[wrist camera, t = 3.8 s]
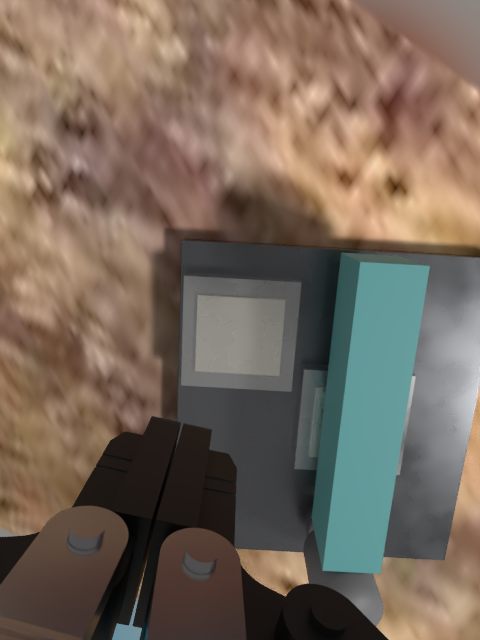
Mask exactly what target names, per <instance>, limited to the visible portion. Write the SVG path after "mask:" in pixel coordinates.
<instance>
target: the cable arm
mask: <svg viewBox="0 0 480 640" xmlns="http://www.w3.org/2000/svg"><path fill="white" fill-rule="evenodd" d="M429 269H430V266H428V265H425V264H422V263H419V262H416V261H413V260H410V259H407V258H404V257H401V256H390V255H373V254H356V253H341V259H340V268H339V277H338V286H337V295H336V304H335V313H334V322H333V331H332V340H331V349H330V358H329V367H328V376H327V385H326V394H325V403H324V412H323V421H322V430H321V438H320V447H319V456H318V465H317V474H316V483H315V492H314V501H313V510H312V523H313V528H314V530H313V531H311V532H310V533H309V535H308V536H307V538H306V540H305V542H304V548H303V550H304V557H305V563H306V568H307V574H308V580H309V584H318V585H323V586H326V587H329V588H331V589H333V590H335V591H337V592H339V593H341V594H342V595H344V596H345V597H346V598H348V599H349V600H350V601H351V602H352V603H353V604H354V605H355V606H356V607H357V608H358V609H359V610H360V611H361V612H362V613H363V614H364V615H365V616H366V617H367V618H368V619H369V620H370V621H371V622H372V623H373V624H374V625H375V626H377V624H378V623H379V622H380V620H381V618H382V615H383V602H382V599H381V596H380V593H379V590H378V587H377V584H376V582H375V579H374V576H373V574H380V573H381V567H382V560H383V554H384V548H385V542H386V536H387V529H388V523H389V517H390V511H391V505H392V498H393V492H394V486H395V480H396V474H397V467H398V461H399V455H400V449H401V442H402V436H403V430H404V424H405V418H406V411H407V405H408V399H409V393H410V387H411V380H412V374H413V368H414V362H415V356H416V349H417V343H418V337H419V331H420V324H421V318H422V312H423V306H424V300H425V293H426V287H427V281H428V275H429Z"/></svg>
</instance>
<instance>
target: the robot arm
mask: <svg viewBox="0 0 480 640" xmlns="http://www.w3.org/2000/svg"><path fill="white" fill-rule="evenodd" d="M180 425H181V422H177V421H172V420H168V419H163V418H159V417H154V416H152V417H151V419H150V422H149V424H148V426H147V428H146V431H145V433H144V435H140V434H135V433H130V432H126V431H125V432H124V433H122V434H120V435H119V436H117V437H115V438H114V439H112V440H111V441H110V442H109V444H108V446H107V447H106V449H105V451H104V453H103V455H102V456H101V458H100V460H99V461H98V463H97V465H96V468H94V470H93V472H92V473H91V475H90V477H89V479H88V480H87V482H86V484H85V486H84V487H83V489H82V491H81V493H80V494H79V496H78V498H77V500H76V501H75V503H74V505H73V507H72V508H69V509H66V510H64V511H61V512H60V513H58V514H56V515H55V516H54V517H52V518H51V519H50V520H49V521H48V522H47V523H46V525H45V526H44V527H43V529H42V530H41V531H40V532H38V533H35V534H31V535H26V536H15V537H0V640H112V637H113V634H114V630H115V627H116V624H117V623H119V624H124V625H129V623H130V619H131V615H132V612H133V608H134V605H135V601H136V598H137V594H138V590H139V587H140V583H141V580H142V576H143V572H144V569H145V572H144V577H143V581H142V586H141V591H140V595H139V600H138V604H137V609H136V613H135V618H134V623H133V626H135V627H140V628H142V632H141V636H140V640H388V639H387V638H386V637H385V636H384V635H383V634H382V633H381V632H380V631H379V630H378V628H377V627H376V626H375V625H374V624H373V623H372V622H371V621H370V620H369V619H368V618H367V617H366V616H365V615H364V614H363V613H362V612H361V611H360V610H359V609H358V608H357V607H356V606H355V605H354V604H353V603H352V602H351V601H350V600H349V599H348V598H346V597H345V596H344V595H342V594H341V593H339V592H337V591H335V590H333V589H331V588H329V587H326V586H323V585H318V584H303V585H299V586H297V587H295V588H293V589H292V590H291V591H290V592H289V593H288V594H287V596H286V597H285V596H283V595H281V594H279V593H277V592H275V591H273V590H271V589H269V588H267V587H265V586H264V585H262V584H260V583H259V582H257V581H256V580H254V579H253V578H252V577H251V576H250V575H249V574H248V573H247V572H246V571H245V570H244V569H243V567H242V566H241V563H240V558H239V555H238V553H237V551H236V549H235V546H234V543H235V512H236V480H237V467H236V465H235V464H234V462H233V460H232V458H231V457H230V455H229V454H227V453H223V452H218V451H214V450H209V447H210V440H211V434H212V429H209V428H205V427H200V426H195V425H191V424H186V423H183V427H182V430H181V434H180V437H179V441H178V444H177V439H178V435H179V430H180ZM176 444H177V448H176ZM175 448H176V451H175ZM174 453H175V455H174ZM173 457H174V459H173ZM147 558H148V559H147ZM146 561H147V563H146ZM145 565H146V568H145Z"/></svg>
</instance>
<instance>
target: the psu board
mask: <svg viewBox="0 0 480 640" xmlns="http://www.w3.org/2000/svg"><path fill="white" fill-rule="evenodd" d="M341 253H356V254H373V255H390V256H401V257H404V258H407V259H410V260H413V261H416V262H419V263H422V264H425V265H428V266H430V269H429V275H428V281H427V287H426V293H425V300H424V306H423V312H422V318H421V324H420V331H419V337H418V343H417V349H416V356H415V362H414V368H413V374H412V380H411V387H410V393H409V399H408V405H407V411H406V418H405V424H404V430H403V436H402V442H401V449H400V455H399V461H398V467H397V474H396V480H395V486H394V492H393V498H392V505H391V511H390V517H389V523H388V529H387V536H386V542H385V548H384V554H383V557H396V558H414V559H432V560H445V555H446V550H447V545H448V540H449V535H450V530H451V525H452V520H453V515H454V510H455V505H456V500H457V495H458V490H459V485H460V480H461V475H462V471H463V466H464V461H465V456H466V451H467V446H468V441H469V436H470V431H471V426H472V421H473V416H474V411H475V406H476V401H477V396H478V391H479V386H480V256H468V255H451V254H434V253H417V252H400V251H383V250H366V249H349V248H332V247H315V246H297V245H280V244H263V243H246V242H229V241H212V240H195V239H183V240H182V250H181V290H180V331H179V371H178V411H177V422H181V425H180V430H179V435H178V439H177V444H178V441H179V437H180V434H181V430H182V427H183V423H186V424H191V425H195V426H200V427H205V428H209V429H212V434H211V440H210V447H209V450H214V451H218V452H223V453H227V454H229V455H230V457H231V458H232V460H233V462H234V464H235V465H236V467H237V480H236V512H235V543H234V546H235V548H237V549H255V550H273V551H290V552H304V550H303V548H304V542H305V540H306V538H307V536H308V535H309V533H310V532H311V531H313V530H314V528H313V523H312V510H313V501H314V492H315V483H316V474H317V465H318V456H319V447H320V438H321V430H322V421H323V412H324V403H325V394H326V385H327V376H328V367H329V358H330V349H331V340H332V331H333V322H334V313H335V304H336V295H337V286H338V277H339V268H340V259H341Z"/></svg>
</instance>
